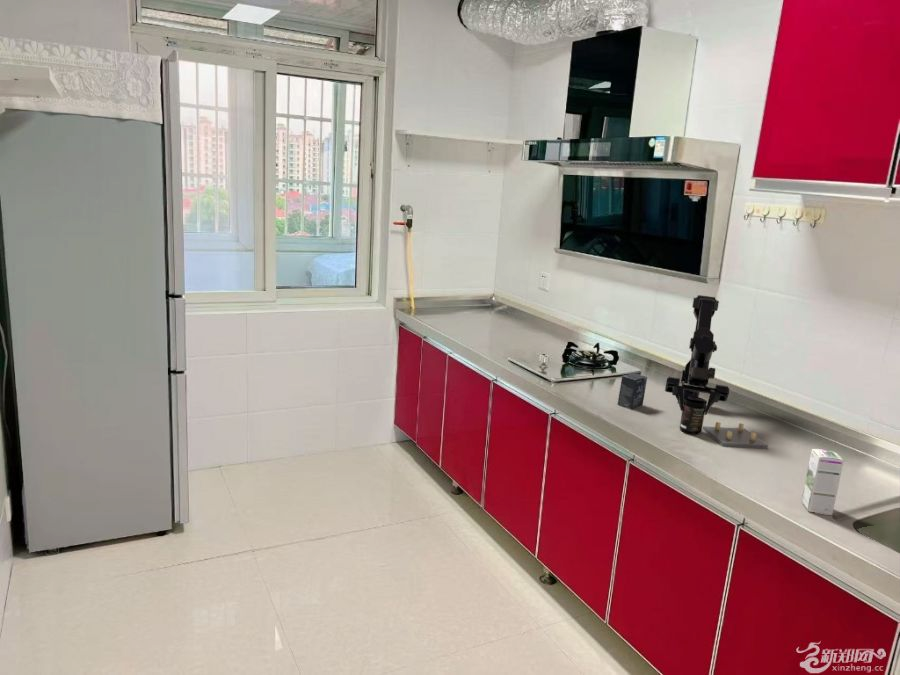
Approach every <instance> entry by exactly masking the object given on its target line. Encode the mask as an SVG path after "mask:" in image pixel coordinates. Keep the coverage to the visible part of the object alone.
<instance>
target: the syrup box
mask: <svg viewBox="0 0 900 675" xmlns="http://www.w3.org/2000/svg"><path fill="white" fill-rule="evenodd" d="M809 457H810V458H809V463H808V468H807V472H806V478H805V482H804V486H803V490H802V492H803V493H802V495H801V496H802V497H801V504H802V503H803V504H802V505H803V506H804V508H805V509H806V511H807V510H808V511H809V512H808V511H807V512H808V513H812V512H815V513H814V514H818V513H820V514H819V515H826V516H833V512H834V509H835V504H836V500H837V494H838V489H839V486H840V485H839V484H840V480H841V476H842V470H843V466H844V459H843V458H842V456H840V455H839V454H838V453H837V452H836V451H834V450H829V449H821V448H811V452H810V456H809Z"/></svg>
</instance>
